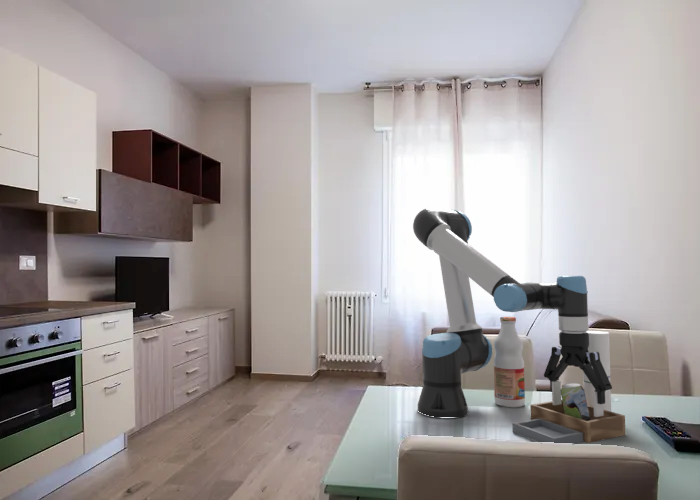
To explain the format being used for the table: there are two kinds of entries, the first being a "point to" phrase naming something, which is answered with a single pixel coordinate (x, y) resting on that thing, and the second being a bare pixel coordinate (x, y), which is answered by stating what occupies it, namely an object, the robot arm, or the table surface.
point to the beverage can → (575, 401)
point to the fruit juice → (509, 366)
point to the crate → (582, 421)
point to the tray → (547, 431)
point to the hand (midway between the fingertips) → (577, 410)
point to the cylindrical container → (601, 345)
